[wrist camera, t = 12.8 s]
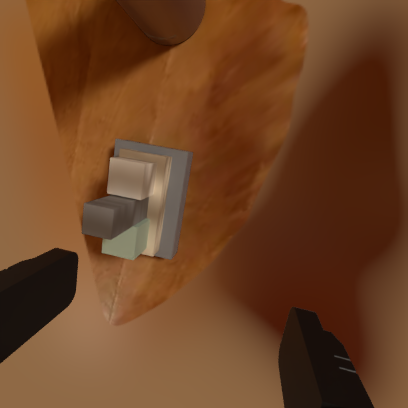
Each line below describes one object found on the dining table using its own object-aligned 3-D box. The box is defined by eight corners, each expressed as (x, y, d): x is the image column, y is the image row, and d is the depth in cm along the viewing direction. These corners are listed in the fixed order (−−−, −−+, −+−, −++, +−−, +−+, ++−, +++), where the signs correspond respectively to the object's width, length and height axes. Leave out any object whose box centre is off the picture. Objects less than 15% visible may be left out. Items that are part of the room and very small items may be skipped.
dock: (125, 139, 38) (115, 138, 35) (193, 152, 37) (188, 152, 34) (115, 237, 41) (105, 244, 38) (176, 252, 40) (171, 259, 37)
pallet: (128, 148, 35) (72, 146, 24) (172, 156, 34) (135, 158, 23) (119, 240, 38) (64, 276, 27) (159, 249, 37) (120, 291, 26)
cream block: (126, 157, 33) (110, 157, 29) (157, 162, 32) (144, 164, 28) (123, 188, 33) (106, 193, 30) (153, 194, 33) (140, 200, 29)
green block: (120, 212, 34) (104, 220, 30) (150, 219, 34) (137, 227, 30) (117, 241, 35) (101, 252, 31) (146, 248, 34) (133, 260, 31)
